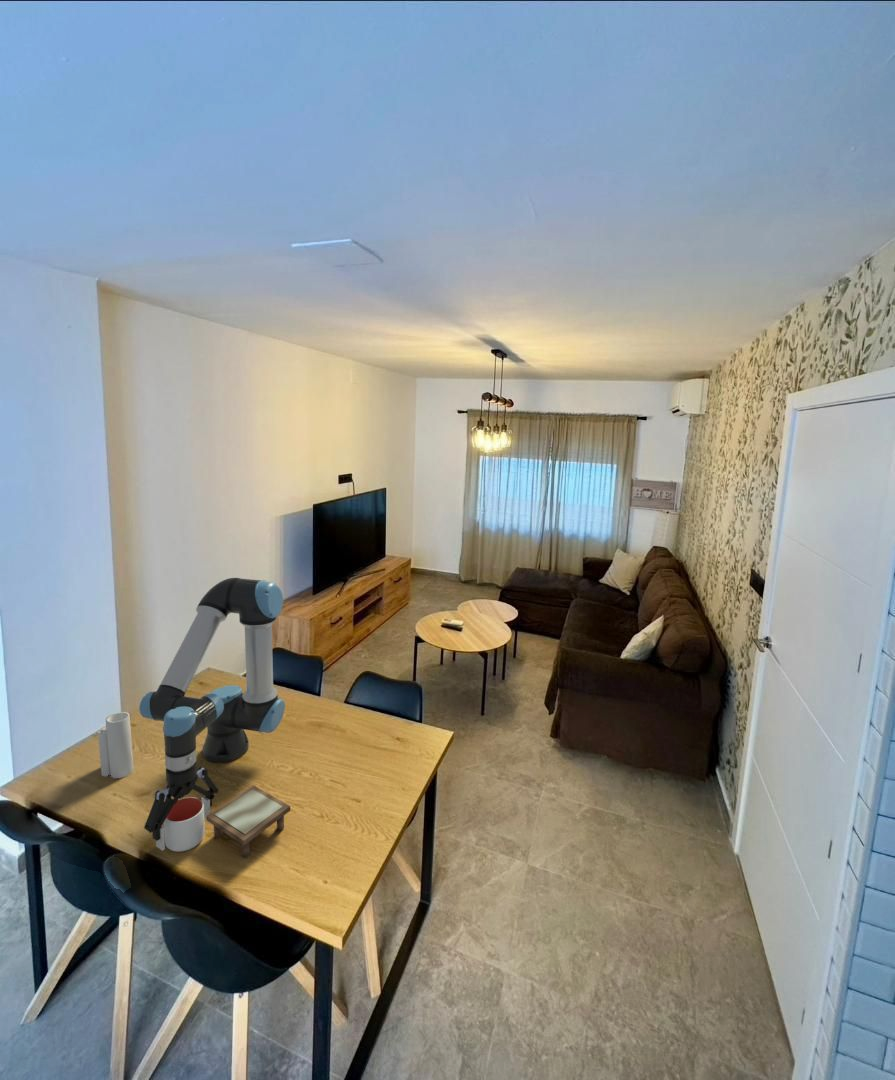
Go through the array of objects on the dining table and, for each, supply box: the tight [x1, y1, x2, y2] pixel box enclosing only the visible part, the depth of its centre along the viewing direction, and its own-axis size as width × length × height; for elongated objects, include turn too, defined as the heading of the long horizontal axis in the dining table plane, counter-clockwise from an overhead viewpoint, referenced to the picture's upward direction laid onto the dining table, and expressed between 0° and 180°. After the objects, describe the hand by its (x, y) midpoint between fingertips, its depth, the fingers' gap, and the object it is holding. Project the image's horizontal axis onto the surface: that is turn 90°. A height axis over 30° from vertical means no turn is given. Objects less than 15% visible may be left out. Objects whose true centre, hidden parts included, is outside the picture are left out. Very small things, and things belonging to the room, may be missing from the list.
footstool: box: [205, 785, 291, 859], centre depth 151 cm, size 16×16×7 cm
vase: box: [97, 711, 134, 779], centre depth 173 cm, size 11×7×20 cm, turn 72°
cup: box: [163, 796, 206, 853], centre depth 147 cm, size 10×10×10 cm
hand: (184, 832), depth 147 cm, fingers open, 13 cm apart
